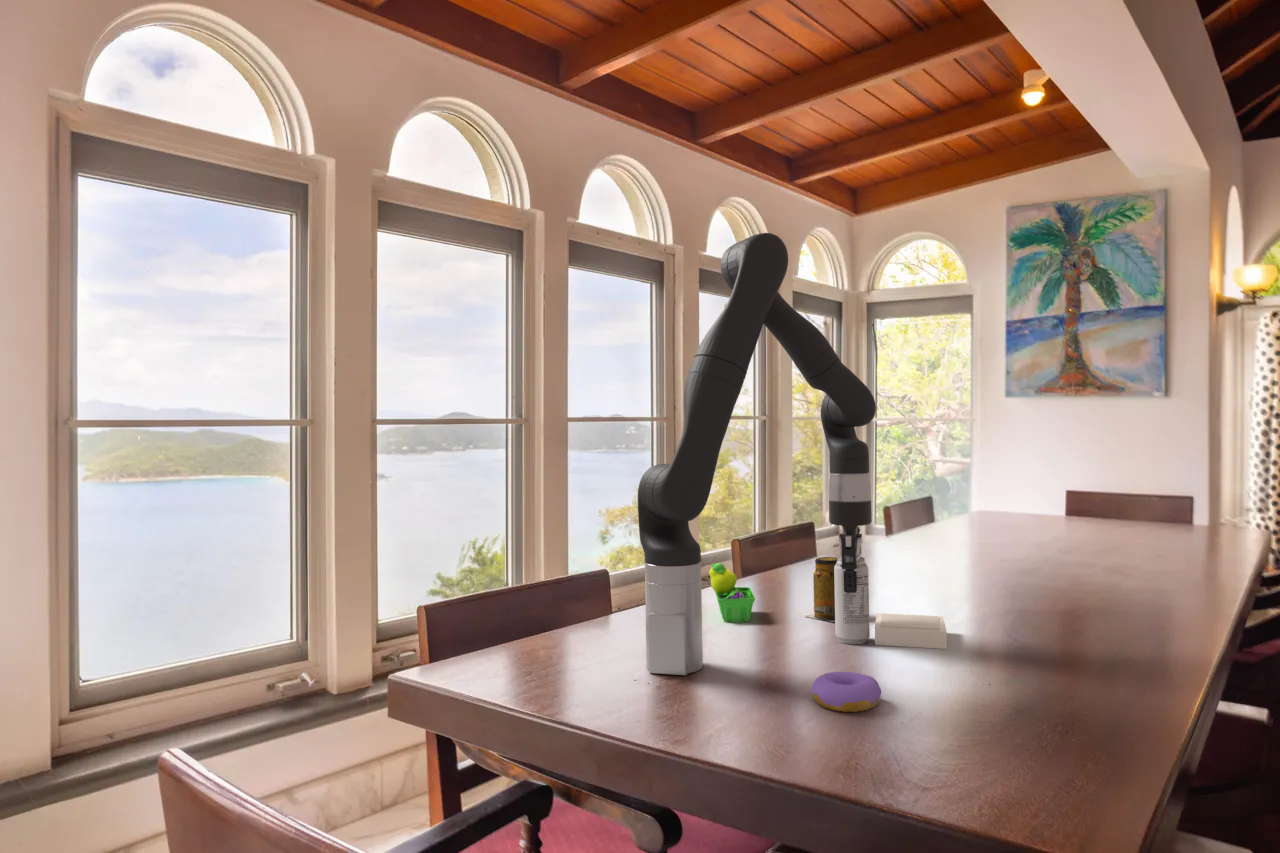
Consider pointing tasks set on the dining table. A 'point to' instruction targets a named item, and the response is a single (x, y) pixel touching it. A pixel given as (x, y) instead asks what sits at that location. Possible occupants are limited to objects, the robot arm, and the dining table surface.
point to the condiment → (824, 589)
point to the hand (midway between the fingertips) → (851, 588)
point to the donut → (846, 691)
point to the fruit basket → (731, 595)
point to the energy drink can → (852, 605)
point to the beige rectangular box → (910, 631)
